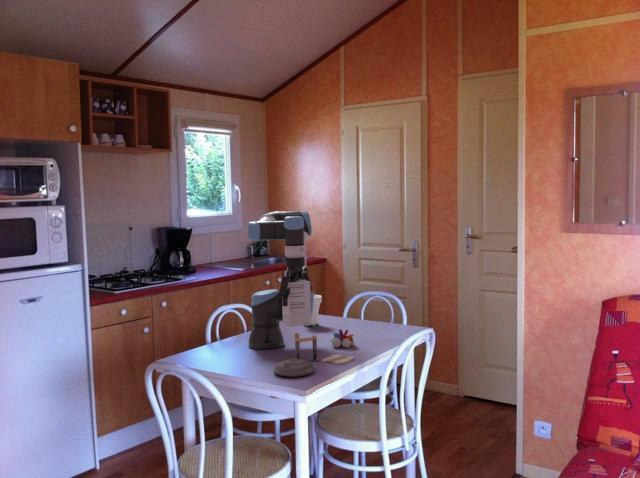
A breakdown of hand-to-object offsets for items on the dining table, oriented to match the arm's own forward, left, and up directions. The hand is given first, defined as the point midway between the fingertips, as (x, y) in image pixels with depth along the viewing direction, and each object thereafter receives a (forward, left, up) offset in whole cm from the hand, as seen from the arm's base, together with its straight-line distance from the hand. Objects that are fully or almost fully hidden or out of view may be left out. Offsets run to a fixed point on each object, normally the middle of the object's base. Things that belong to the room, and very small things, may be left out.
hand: (296, 311), depth 236 cm
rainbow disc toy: (+6, +26, -19) cm, 33 cm away
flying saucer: (+8, -15, -19) cm, 26 cm away
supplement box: (0, 0, -5) cm, 5 cm away
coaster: (+15, +6, -19) cm, 25 cm away
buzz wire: (+3, -1, -19) cm, 19 cm away
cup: (-27, +54, -19) cm, 63 cm away
